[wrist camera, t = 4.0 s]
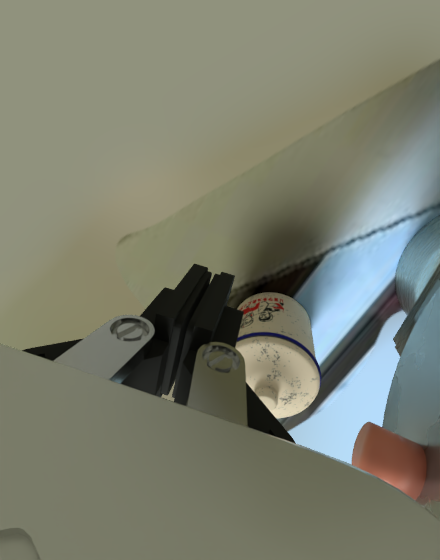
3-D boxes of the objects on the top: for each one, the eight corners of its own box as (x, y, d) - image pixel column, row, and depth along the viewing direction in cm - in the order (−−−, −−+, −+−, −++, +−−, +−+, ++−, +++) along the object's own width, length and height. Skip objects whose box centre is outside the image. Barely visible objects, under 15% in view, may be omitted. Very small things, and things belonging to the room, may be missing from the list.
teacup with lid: (281, 273, 31) (279, 337, 21) (329, 335, 33) (349, 423, 22) (197, 326, 36) (162, 399, 25) (243, 377, 38) (228, 466, 27)
